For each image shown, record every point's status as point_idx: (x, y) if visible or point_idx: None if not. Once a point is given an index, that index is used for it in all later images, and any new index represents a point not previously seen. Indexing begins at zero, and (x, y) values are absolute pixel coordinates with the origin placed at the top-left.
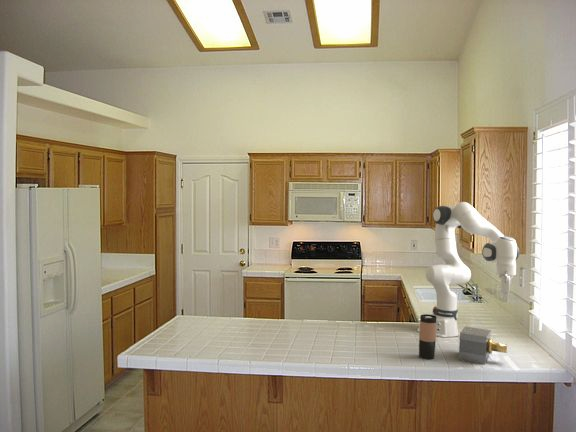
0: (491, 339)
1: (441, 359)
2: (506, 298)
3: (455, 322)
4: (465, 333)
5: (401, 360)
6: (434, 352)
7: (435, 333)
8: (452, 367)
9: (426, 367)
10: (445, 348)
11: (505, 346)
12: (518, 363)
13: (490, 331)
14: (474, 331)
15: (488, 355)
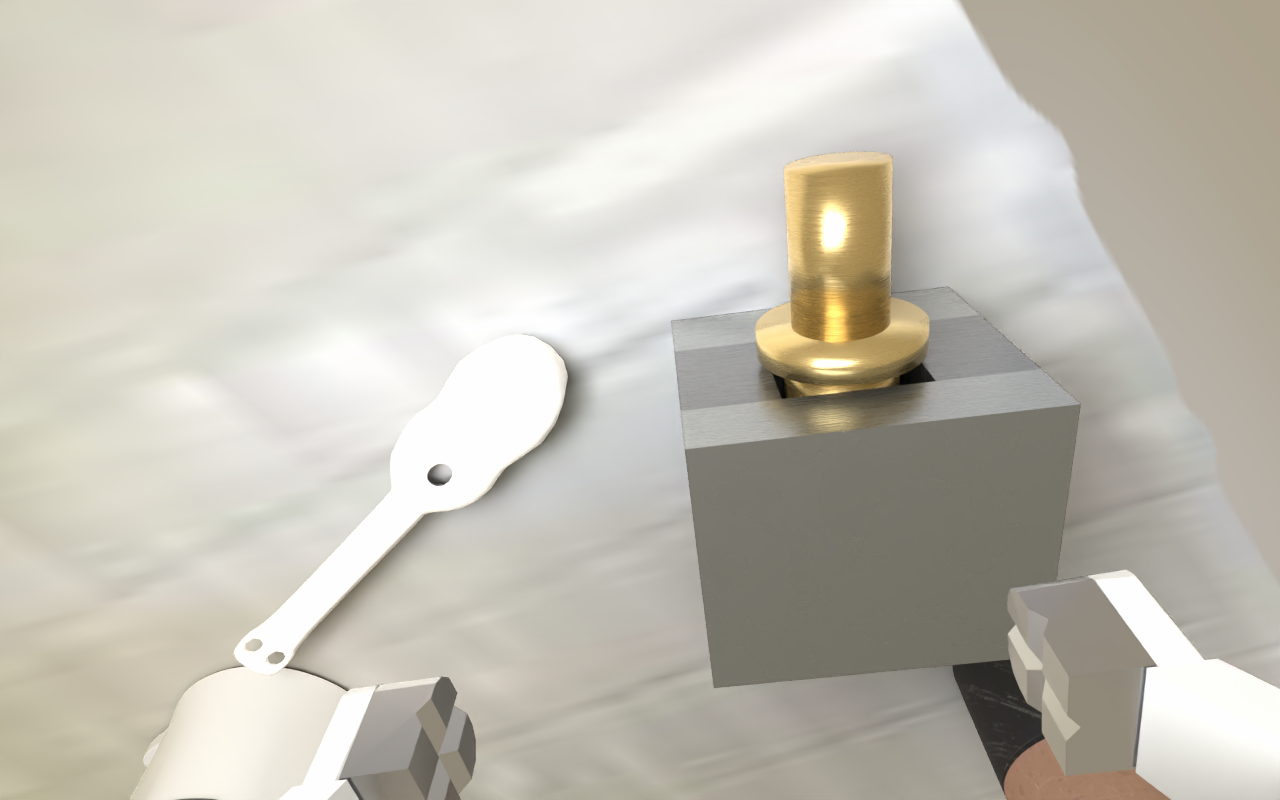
0: (877, 360)
1: None
2: (1175, 648)
3: (229, 781)
4: None
5: None
6: None
7: (1133, 790)
8: (1170, 466)
9: (1252, 593)
10: (691, 633)
11: (887, 176)
12: (715, 22)
13: (701, 440)
14: (889, 568)
15: (742, 322)
